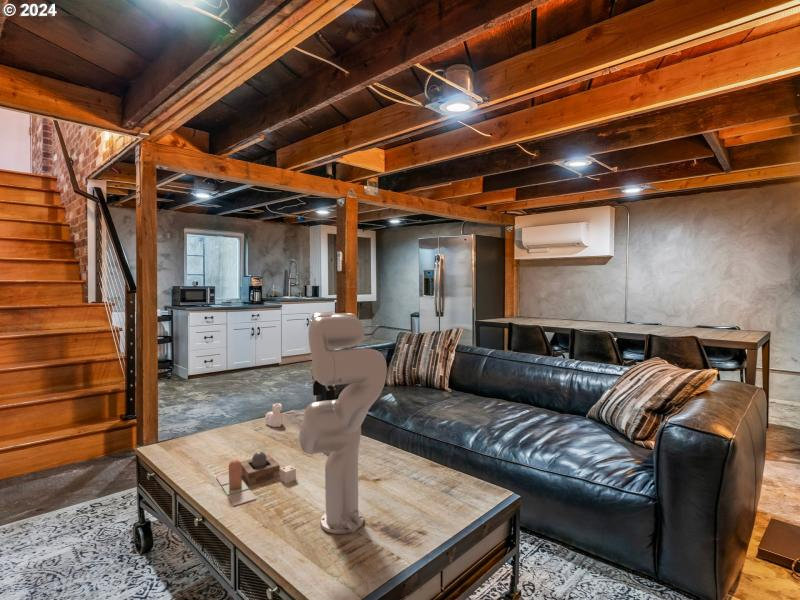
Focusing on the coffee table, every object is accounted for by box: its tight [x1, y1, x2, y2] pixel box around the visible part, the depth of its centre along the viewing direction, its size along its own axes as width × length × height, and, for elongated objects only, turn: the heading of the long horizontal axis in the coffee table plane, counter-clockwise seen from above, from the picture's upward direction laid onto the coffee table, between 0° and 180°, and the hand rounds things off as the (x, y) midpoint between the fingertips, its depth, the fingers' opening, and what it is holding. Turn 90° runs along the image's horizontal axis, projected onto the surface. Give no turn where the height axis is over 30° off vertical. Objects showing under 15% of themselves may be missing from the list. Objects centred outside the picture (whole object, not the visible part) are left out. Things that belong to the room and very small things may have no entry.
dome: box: [251, 451, 267, 469], centre depth 158 cm, size 5×5×6 cm
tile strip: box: [216, 473, 257, 507], centre depth 148 cm, size 23×7×1 cm, turn 36°
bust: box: [264, 402, 285, 428], centre depth 210 cm, size 12×8×11 cm
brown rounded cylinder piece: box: [228, 459, 243, 490], centre depth 147 cm, size 4×4×10 cm
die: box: [279, 464, 297, 484], centre depth 154 cm, size 4×4×4 cm
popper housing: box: [240, 454, 281, 485], centre depth 158 cm, size 11×11×4 cm
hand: (323, 398), depth 149 cm, fingers open, 9 cm apart
